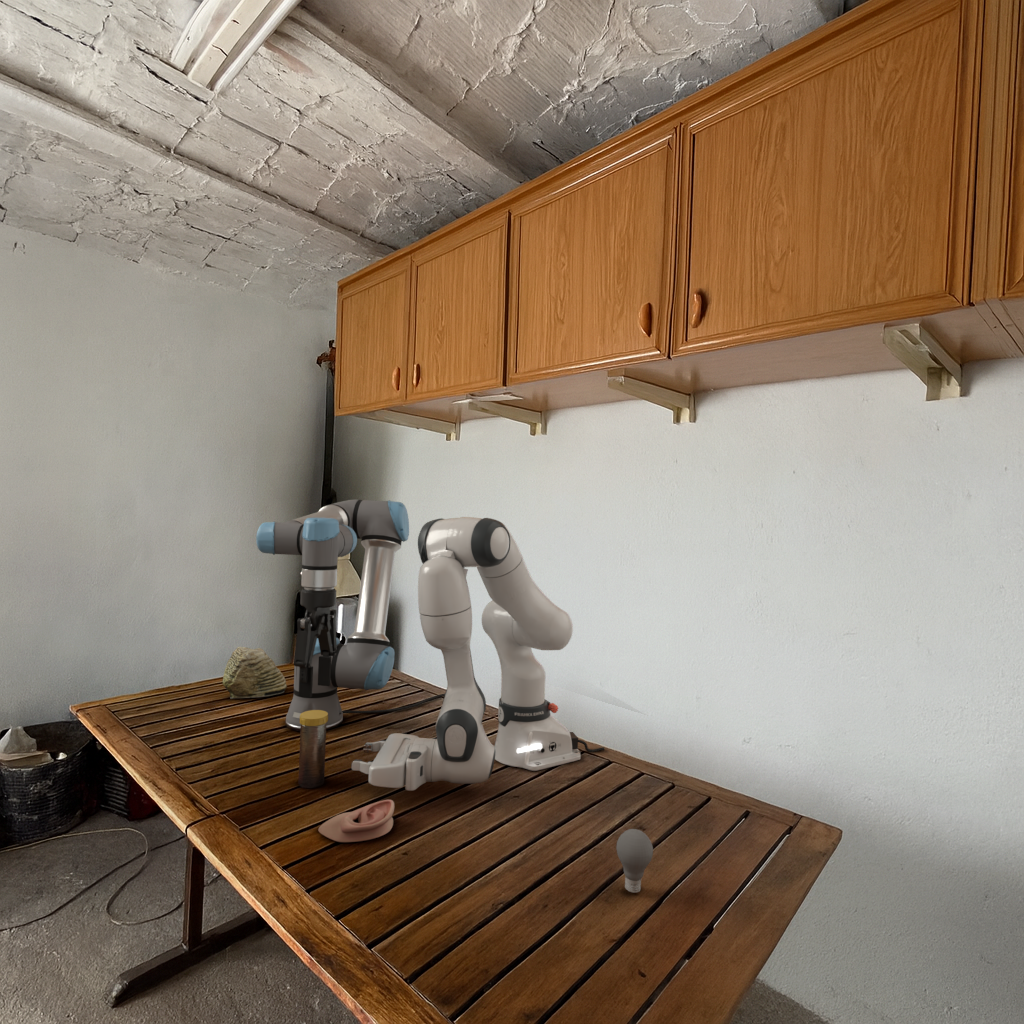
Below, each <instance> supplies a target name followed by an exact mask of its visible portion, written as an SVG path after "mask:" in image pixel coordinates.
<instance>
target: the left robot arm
mask: <svg viewBox="0 0 1024 1024" xmlns="http://www.w3.org/2000/svg"><path fill="white" fill-rule="evenodd" d="M409 535H410V520H409V514H408V510H407V507H406V505H405V504H404V503H403V502H400V501H393V500H390V499H389V500H373V499H347V500H343V501H337V502H334V503H331V504H327V505H324V506H322V507H321V508H320V509H319V510H318V511H316V512H313V513H311V514H307V515H303V516H300V517H297V518H293V519H290V520H286V521H283V522H282V521H281V522H277V521H270V522H269V521H265V522H262V523H261V524H260V525H259V526H258V529H257V532H256V541H255V542H256V547H257V549H258V550H259V551H260V552H261V553H262V554H271V555H273V556H274V555H287V556H288V555H289V556H290V555H291V556H301V572H300V576H301V582H300V583H301V584H300V585H301V587H302V589H300V602H299V603H300V606H301V607H304V608H305V613H304V617H302V618H299V617H298V618H297V621H296V625H297V633H296V640H295V648H294V655H293V667H294V670H293V671H294V672H293V695H292V696H293V697H292V699H291V702H290V704H289V708H288V711H287V713H286V715H285V726H286V728H287V729H289V730H291V731H294V732H295V731H296V732H300V730H301V724H300V721H299V720H300V714H301V713H303V712H305V711H310V710H322V711H326V712H327V713H328V721H327V723H326V731H329V730H332V729H335V728H337V727H339V726H340V725H342V723H343V722H344V714H382V713H391V712H398V711H404V710H407V709H412V708H415V707H418V706H420V705H423V704H425V703H427V702H430V701H432V700H436V699H438V698H441V697H444V695H445V693H440V694H436V695H434V696H431V697H428V698H425V699H423V700H421V701H419V702H416V703H413V704H410V705H406V706H402V707H396V708H388V709H377V710H343V709H342V706H341V702H340V699H339V695H338V688H340V689H355V690H356V689H357V690H365V691H370V690H382V689H383V688H384V687H385V686H386V685H387V684H388V682H389V680H390V677H391V675H392V672H393V668H394V664H395V649H394V648H393V647H392V646H390V640H389V638H388V637H387V636H386V629H387V621H388V615H389V614H388V613H389V604H390V596H391V589H392V580H393V572H394V563H395V556H396V552H398V551H399V550H400V549H401V548H402V543H404V542H408V539H409ZM358 540H360V544H361V546H362V547H363V548H364V556H363V562H362V563H363V564H362V571H361V577H360V585H359V593H358V601H357V607H356V615H355V623H354V628H353V629H354V631H353V632H352V633H351V634H350V635H349V636H348V637H347V641H346V644H341V641H340V639H339V638H338V637H337V622H336V620H337V609H332V607H334V606H336V604H337V589H336V587H337V585H338V561H339V559H338V558H343V557H346V556H348V555H349V554H350V553H352V552H353V551H354V550H355V548H357V544H358Z"/></svg>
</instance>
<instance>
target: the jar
mask: <svg viewBox="0 0 1024 1024" xmlns="http://www.w3.org/2000/svg"><path fill="white" fill-rule="evenodd" d="M326 723H327V722H326ZM326 723H325V724H322V725H318V726H305V725H302V724H301V730H300V731H299V733H300V734H299V735H300V736H299V755H298V756H299V758H298V759H299V760H298V786H299V787H300V788H302V789H315V788H319V787H321V786H322V785H324V783H325V771H326V749H327V747H326V745H327V730H326Z"/></svg>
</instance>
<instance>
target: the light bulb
mask: <svg viewBox="0 0 1024 1024" xmlns="http://www.w3.org/2000/svg"><path fill="white" fill-rule="evenodd" d="M615 849H616V854H617V857H618V859H619V861H620V863H621V865H622V867H623V873H624V874H623V875H624V876H625V878H624V888H625V890H627V891H628V892H630V893H634V894H635V893H639V892H640V891H641V889H642V887H641V886H642V879H643V877H644V875H645V871H646V868H647V867H648V866H649V864H650V863H651V861H652V859H653V855H654V847H653V843H652V841H651V838H649V836H648V835H647V834H646V833H645V832H643V831H642V830H641V829H636V828H629V829H627V830H625V831H623V832H622V833H621V834H620V835H619V837H618V839H617V841H616V847H615Z"/></svg>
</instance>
